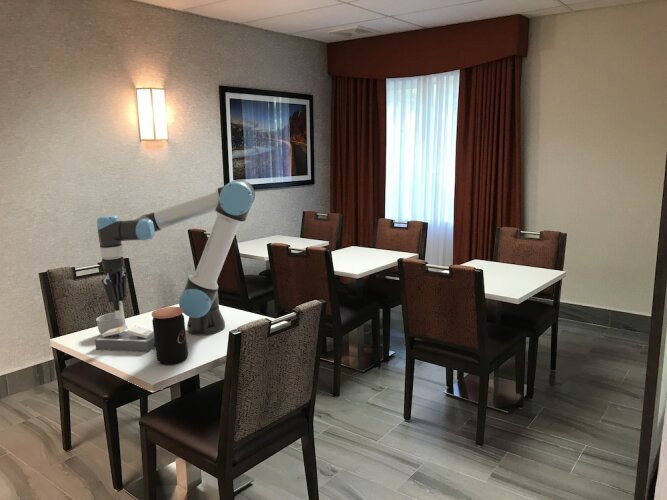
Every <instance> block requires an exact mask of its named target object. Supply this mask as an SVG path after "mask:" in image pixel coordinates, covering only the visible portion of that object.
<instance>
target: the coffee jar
mask: <svg viewBox="0 0 667 500" xmlns="http://www.w3.org/2000/svg"><path fill="white" fill-rule="evenodd" d="M151 317H152V320H151V321H152V329H153V330H152V331H154V340H155V348H154V349H155V354H156V361H157V362H158V363H159V364H160V365H162V366H164V365H165V366H172V365H177V364H181V363H183V362H184V361H186V360H187V358H188V356H189V351H188V342H187V341H188V340H187V333H186V323H185V314H184V313H183V309H182V308H180V307H179V306H166V307H162V308H157V309H156V310H153V311H151Z"/></svg>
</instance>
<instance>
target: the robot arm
mask: <svg viewBox="0 0 667 500" xmlns="http://www.w3.org/2000/svg"><path fill="white" fill-rule="evenodd" d="M255 196H256V192H255V189H254V186H253V185H252V184H251V183H250V182H248V181H246V180H245V179H235V180H232V181H230V182H228V183H226V184H225V185H223V186H220V187H218V188H217V189H216V191H214V192H210V193H208V194H205V195H202V196H199V197H196V198H195V197H194V198H192V199H190V200H187V201H183V202H180V203H177V204H174V205H171V206H168V207H165V208H161V209H159V210H156V211H154V212H151V213H145V214H143V215H141V216H139V217H137V218H136V219H130V220H129V219H128V220H120V218H119V216H118V215H117V214H116V215H113V214H112V215H111V214H110V215H101V216H99V217H98V218H97V219H96V223H97V224H96V225H97V229H96V230H97V236H98V241H99V242H98V243H99V248H100V256H101V258H102V259H101V265H102V269H103V270H105V278H102V279H101V283H102V285H103V286H104V289H105V293H106V296H107V299H108V302H109V303H113V310H114V313H115V316H116V318H118V319H122V318H124V317H125V312H124V302H123V301H125V300H126V297H127V277H128V272H127V271H124V269H123V267H124V266H125V261H124V252H123V246H122V244H123V243H122V242H125V241H127V242H128V241H129V242H130V241H145V240H146V241H147V240H152V239H153V238H154V236H155V233H156V232H159V231H161V230H164V229H165V230H166V229H168V228H172V227H175V226H177V225H181V224H184V223H187V222H189V221H192V220H195V219H199V218H202V217H206V216H208V215H211V214H214V213H215V214H216V219H215V221H214V223H213V226H212V229H211V232H210V234H209V237H208V239H207V240H206V244H205V246H204V249H203V251H202V255H201V257H200V259H199V262H198V265H197V267H196V270H195V272H194V274H191V275H188V276H186V284H185V286H184V289H183V291H182V292H181V294H180V296H179V298H178V305H179V306H178V307H180V308H182V309H183V313H182V314H183V315H184V316H185V315H186V317H188V320H187V325H186V328H187V332H188V333H189V334H190V335H197V336H198V335H199V336H200V335H201V336H202V335H203V336H205V335H210V334H211V335H212V334H215V333H218V332H221V331H222V330H224V329H225V328H226V324H225V323H226V321H225V319H224V317H223V314H222V312H221V310H220V306H219V305H220V304H219V292H218V290H219V285H218V278H219V276H220V274H221V271H222V269H223V266H224V264H225V261H226V258H227V256H228V254H229V251H230V249H231V246H232V243H233V240H234V239H235V236H236V233H237V231H238V229H239V226H240V225H241V224H243V223H245V222H246V220H247V218H248V214H249V212H250V209H251V207H252V205H253V203H254V201H255V198H256V197H255Z"/></svg>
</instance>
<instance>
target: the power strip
mask: <svg viewBox="0 0 667 500" xmlns="http://www.w3.org/2000/svg"><path fill="white" fill-rule="evenodd" d="M94 343H95V344H94V345H95V350H96V351H112V352H113V351H114V352H115V351H117V352H118V351H119V352H137V353H138V352H139V353H141V352H142V353H149V352H151V351H152V350H154V349H156V348H155V340H154V334H153V335H151V336H150V337H148V338H143V337H140V336H136V335H133V334H129V333H128V330H124V331H123V332H121V333H118V334H114V335H110V336H105V337H103V336H102V335H101V336H99V337H97V338H96V339H94Z"/></svg>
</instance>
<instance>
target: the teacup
mask: <svg viewBox="0 0 667 500" xmlns="http://www.w3.org/2000/svg"><path fill="white" fill-rule="evenodd" d="M95 321H96V324H97V329H98V332H99V334H100V335H102V334H103V333H105V332H107V331H108V330H110V329H115V328H119V327H122V326H127V325H126V319H125V316H124V318H122V319H118V318H116V316H115V312H109V313H105V314H103V315H100V316H98V317H96V319H95Z"/></svg>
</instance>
